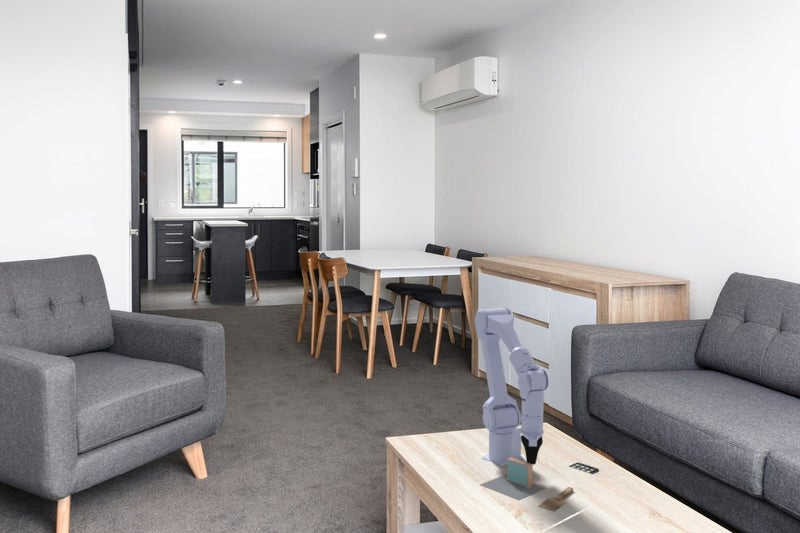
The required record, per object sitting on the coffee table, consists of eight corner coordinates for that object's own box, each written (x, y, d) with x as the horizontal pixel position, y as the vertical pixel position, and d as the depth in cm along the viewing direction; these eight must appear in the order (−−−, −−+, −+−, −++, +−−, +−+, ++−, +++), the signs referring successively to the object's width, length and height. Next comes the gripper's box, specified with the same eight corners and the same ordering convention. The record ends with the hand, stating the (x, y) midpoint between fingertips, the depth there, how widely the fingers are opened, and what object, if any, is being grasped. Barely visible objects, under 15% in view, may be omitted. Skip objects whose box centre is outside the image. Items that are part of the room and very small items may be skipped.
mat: (506, 475, 195) (506, 473, 195) (545, 489, 185) (545, 488, 185) (479, 486, 188) (479, 484, 188) (518, 501, 178) (518, 500, 178)
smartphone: (546, 476, 194) (577, 461, 204) (546, 478, 194) (577, 464, 204) (569, 484, 189) (600, 469, 199) (569, 486, 189) (600, 471, 199)
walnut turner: (562, 489, 186) (562, 485, 186) (578, 494, 183) (578, 489, 183) (538, 508, 175) (538, 503, 174) (554, 513, 172) (554, 508, 172)
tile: (511, 478, 192) (511, 457, 191) (532, 486, 186) (532, 464, 186) (506, 480, 190) (507, 458, 190) (527, 488, 185) (528, 466, 185)
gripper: (516, 405, 198) (515, 453, 199) (517, 421, 183) (516, 472, 185) (542, 406, 197) (541, 454, 198) (545, 423, 182) (544, 474, 184)
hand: (531, 463), depth 191 cm, fingers closed
